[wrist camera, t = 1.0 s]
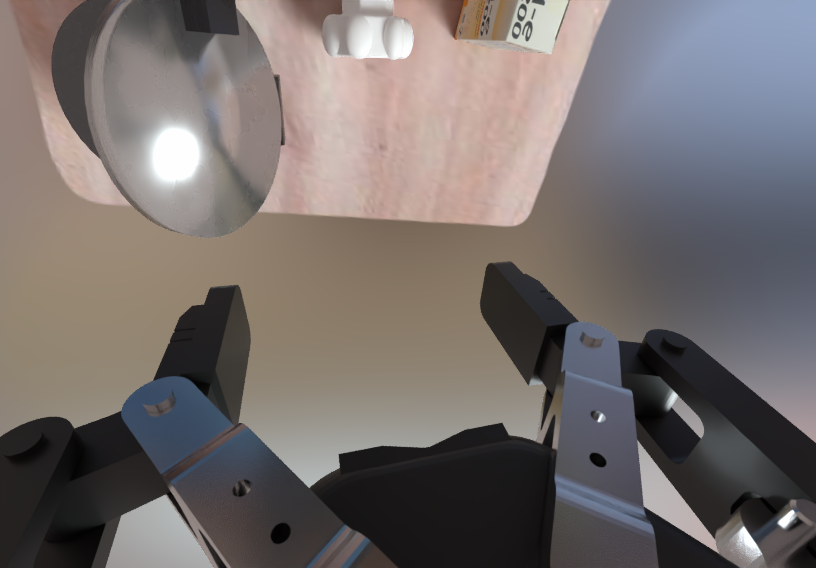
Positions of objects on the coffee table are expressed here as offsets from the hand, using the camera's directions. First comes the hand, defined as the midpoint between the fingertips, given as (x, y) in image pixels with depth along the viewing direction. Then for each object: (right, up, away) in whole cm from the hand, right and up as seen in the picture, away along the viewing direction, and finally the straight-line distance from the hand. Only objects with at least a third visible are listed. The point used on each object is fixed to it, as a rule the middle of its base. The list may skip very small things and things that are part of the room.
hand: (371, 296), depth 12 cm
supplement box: (+9, +30, +27) cm, 42 cm away
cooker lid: (-12, +13, +11) cm, 21 cm away
